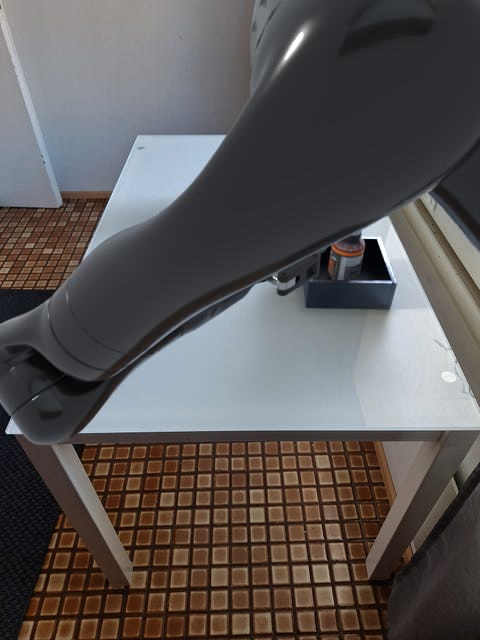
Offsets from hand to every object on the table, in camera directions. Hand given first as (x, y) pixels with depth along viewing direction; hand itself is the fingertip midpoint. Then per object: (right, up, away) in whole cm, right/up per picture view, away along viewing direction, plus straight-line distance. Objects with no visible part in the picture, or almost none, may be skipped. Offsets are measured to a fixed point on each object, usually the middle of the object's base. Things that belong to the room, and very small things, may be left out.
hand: (294, 224), depth 56 cm
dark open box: (+14, -4, +37) cm, 40 cm away
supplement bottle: (+14, -4, +37) cm, 39 cm away
